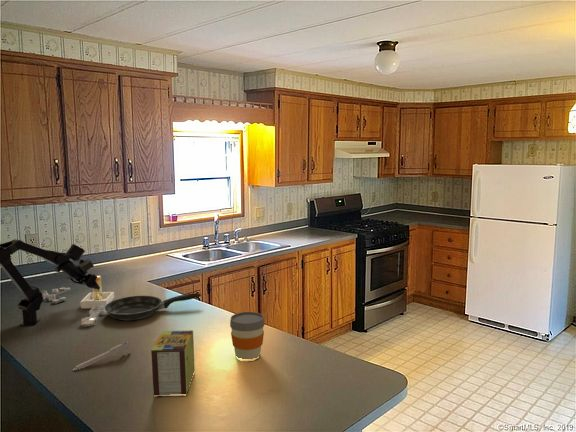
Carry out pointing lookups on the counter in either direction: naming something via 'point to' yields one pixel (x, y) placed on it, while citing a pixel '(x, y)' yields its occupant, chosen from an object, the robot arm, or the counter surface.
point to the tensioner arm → (93, 316)
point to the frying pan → (141, 306)
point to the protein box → (173, 362)
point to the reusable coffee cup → (247, 334)
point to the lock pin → (97, 293)
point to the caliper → (106, 354)
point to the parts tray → (89, 302)
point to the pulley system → (53, 296)
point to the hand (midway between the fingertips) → (94, 286)
